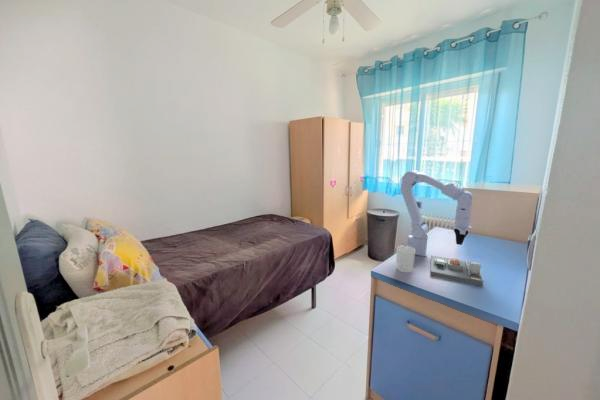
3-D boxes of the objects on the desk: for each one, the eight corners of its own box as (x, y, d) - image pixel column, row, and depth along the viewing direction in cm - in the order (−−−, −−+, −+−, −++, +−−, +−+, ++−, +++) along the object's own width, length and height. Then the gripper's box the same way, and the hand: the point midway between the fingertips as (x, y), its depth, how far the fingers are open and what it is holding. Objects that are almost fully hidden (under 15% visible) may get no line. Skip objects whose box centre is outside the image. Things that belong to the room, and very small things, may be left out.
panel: (430, 275, 107) (431, 267, 106) (430, 259, 122) (431, 251, 122) (482, 286, 98) (483, 277, 97) (475, 267, 114) (476, 259, 113)
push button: (450, 266, 109) (451, 260, 109) (450, 263, 112) (450, 257, 111) (458, 268, 108) (459, 261, 107) (457, 265, 110) (458, 259, 110)
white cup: (405, 275, 107) (407, 254, 105) (391, 267, 114) (392, 247, 112) (417, 270, 111) (419, 250, 109) (403, 263, 118) (404, 244, 116)
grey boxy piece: (469, 273, 104) (470, 263, 103) (468, 271, 106) (470, 261, 105) (479, 275, 102) (481, 265, 101) (478, 273, 104) (480, 263, 103)
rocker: (436, 263, 110) (437, 261, 110) (436, 260, 116) (436, 258, 115) (444, 264, 109) (444, 262, 109) (443, 261, 114) (443, 259, 114)
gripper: (475, 222, 106) (471, 251, 109) (470, 214, 119) (467, 240, 121) (456, 220, 109) (452, 248, 112) (453, 212, 122) (450, 238, 125)
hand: (458, 244), depth 117 cm, fingers closed
